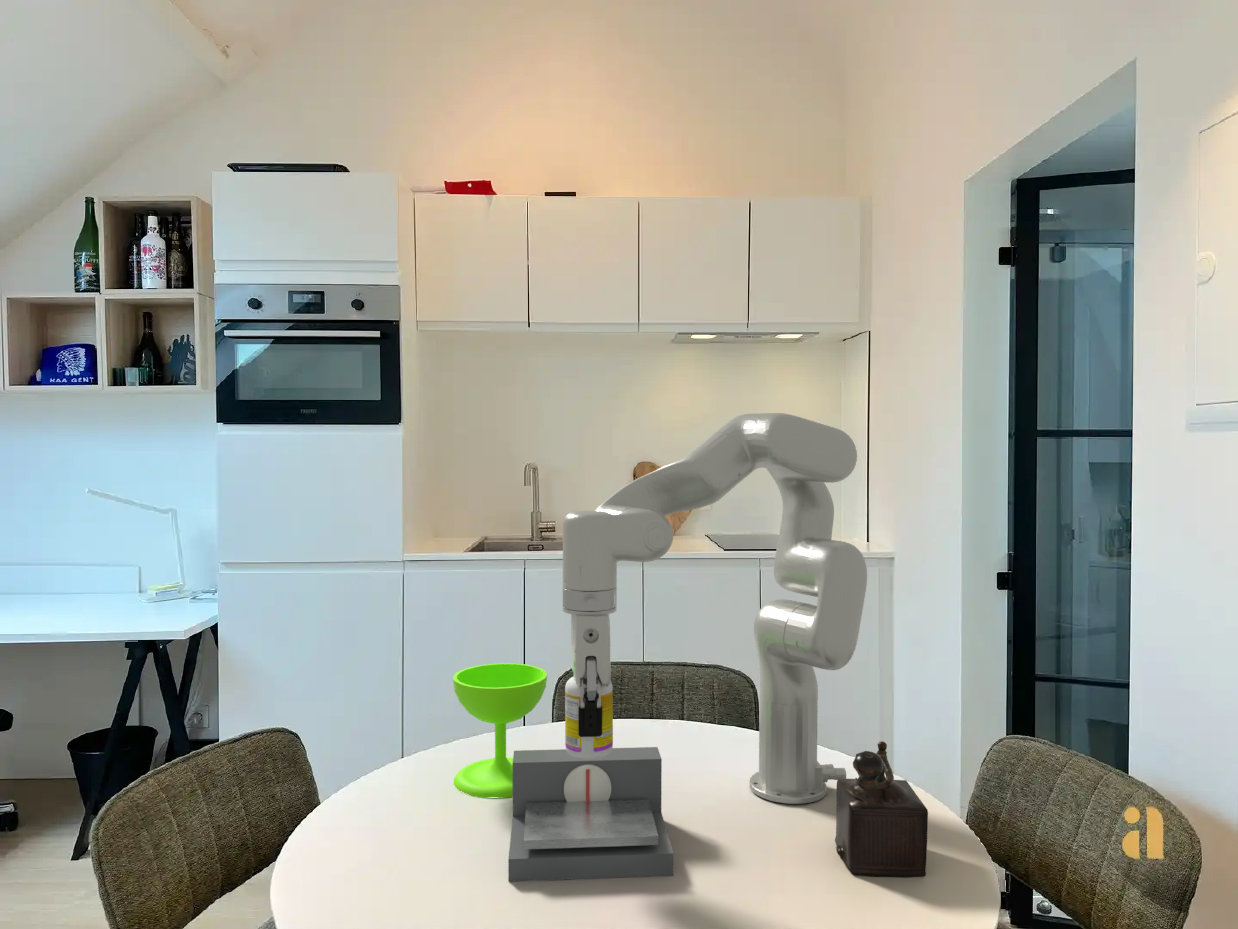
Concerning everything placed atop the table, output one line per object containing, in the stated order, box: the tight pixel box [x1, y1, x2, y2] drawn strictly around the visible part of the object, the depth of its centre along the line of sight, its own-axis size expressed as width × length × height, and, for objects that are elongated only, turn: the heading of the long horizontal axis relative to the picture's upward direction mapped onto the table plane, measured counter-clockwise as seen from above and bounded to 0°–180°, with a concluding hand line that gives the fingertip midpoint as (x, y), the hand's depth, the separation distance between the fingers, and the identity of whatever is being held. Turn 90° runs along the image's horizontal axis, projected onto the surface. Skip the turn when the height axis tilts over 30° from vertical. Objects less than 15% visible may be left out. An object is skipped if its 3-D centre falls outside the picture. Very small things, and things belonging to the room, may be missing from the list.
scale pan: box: [524, 799, 658, 849], centre depth 124 cm, size 18×12×1 cm, turn 94°
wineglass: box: [452, 662, 548, 798], centre depth 151 cm, size 16×16×18 cm
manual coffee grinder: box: [834, 740, 929, 878], centre depth 120 cm, size 16×11×18 cm
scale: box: [507, 746, 674, 882], centre depth 126 cm, size 22×18×11 cm
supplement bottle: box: [564, 661, 614, 759], centre depth 123 cm, size 7×7×13 cm
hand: (589, 726), depth 123 cm, fingers closed on supplement bottle, 6 cm apart
